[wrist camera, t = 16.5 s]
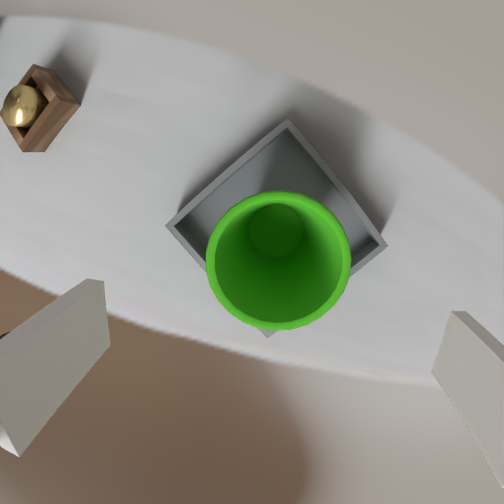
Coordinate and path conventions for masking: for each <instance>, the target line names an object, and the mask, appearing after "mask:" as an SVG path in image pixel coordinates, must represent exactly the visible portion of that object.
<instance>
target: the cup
mask: <svg viewBox="0 0 504 504" xmlns="http://www.w3.org/2000/svg"><path fill="white" fill-rule="evenodd" d="M351 260H352V259H351V251H350V243H349V240H348V238H347V235H346V233H345V230H344V228H343V226H342V225H341V223H340V222H339V221H338V219H337V218H336V217H335V215H334V214H333V213H332V212H331V211H330V210H329V209H328V208H326V207H325V206H324V205H323V204H321V203H320V202H319V201H317V200H315V199H313V198H311V197H308V196H306V195H304V194H302V193H297V192H291V191H285V190H277V191H264V192H261V193H258V194H255V195H252V196H249V197H246V198H244V199H243V200H241V201H240V202H238V203H237V204H235V205H233V206H232V207H230V208H229V210H228V211H227V212H226V213H225V214H224V215H223V216H222V217H221V218H220V219H219V220H218V222H217V224H216V226H215V227H214V229H213V231H212V233H211V235H210V237H209V241H208V245H207V249H206V273H207V276H208V280H209V284H210V287H211V289H212V290H213V292H214V294H215V296H216V298H217V299H218V301H219V302H220V303H221V304H222V305H223V306H224V307H225V309H226V310H227V311H228V312H229V313H231V314H232V315H234V316H235V317H236V318H238V319H239V320H241V321H242V322H244V323H247V324H249V325H252V326H254V327H257V328H261V329H268V330H274V331H276V330H291V329H295V328H298V327H301V326H305V325H308V324H309V323H311V322H313V321H315V320H317V319H318V318H320V317H322V316H323V315H324V314H325V313H326V312H327V311H328V310H330V309H331V308H332V307H333V306H334V305H335V303H336V302H337V300H338V299H339V298H340V296H341V295H342V293H343V292H344V289H345V287H346V284H347V282H348V279H349V276H350V269H351Z"/></svg>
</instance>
